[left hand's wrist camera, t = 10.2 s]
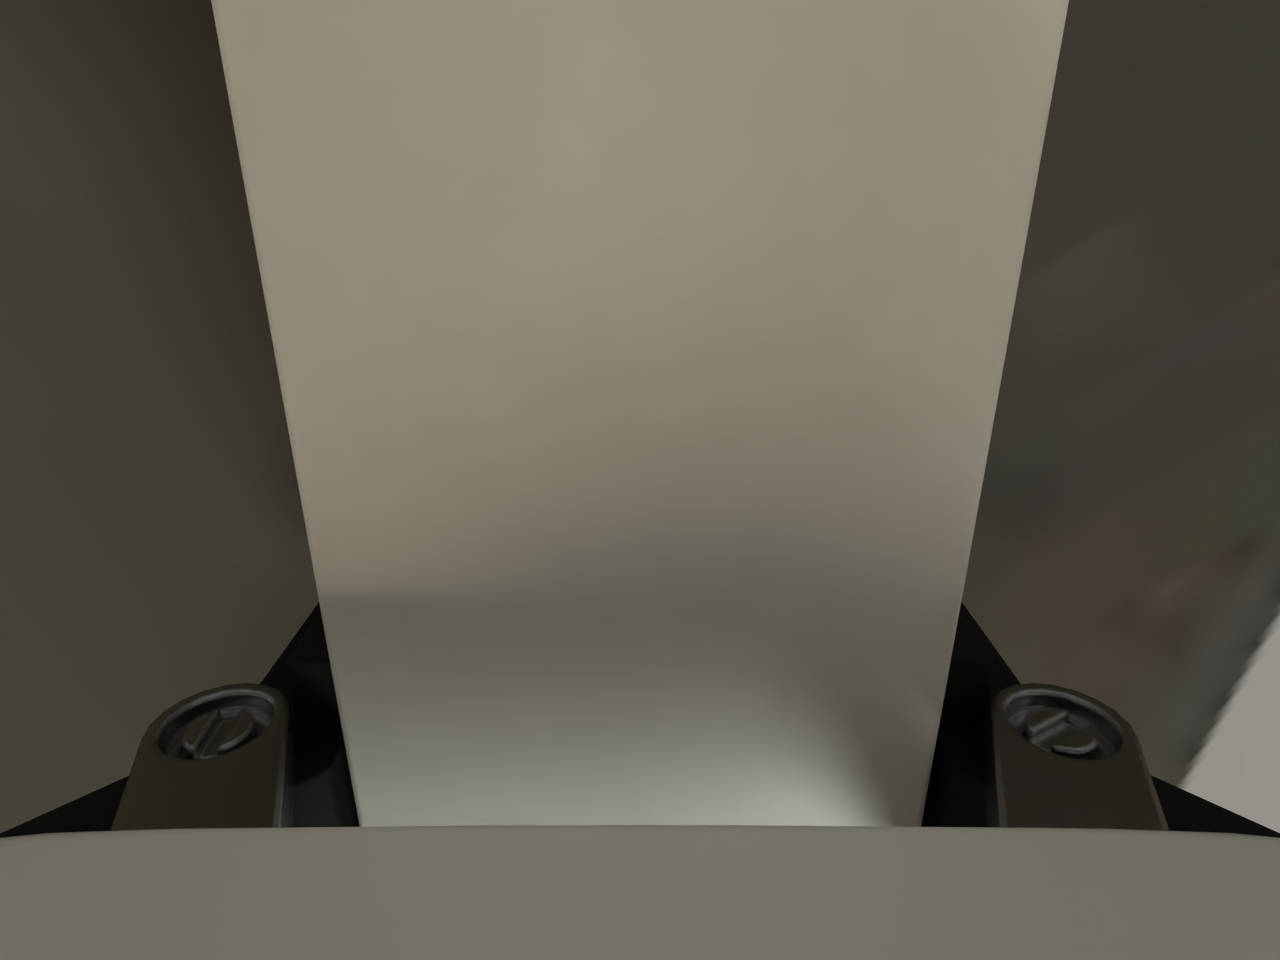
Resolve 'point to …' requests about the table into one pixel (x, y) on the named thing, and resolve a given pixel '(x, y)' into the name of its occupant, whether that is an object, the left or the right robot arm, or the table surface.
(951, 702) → the left robot arm
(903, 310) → the post
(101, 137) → the table surface
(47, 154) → the table surface
